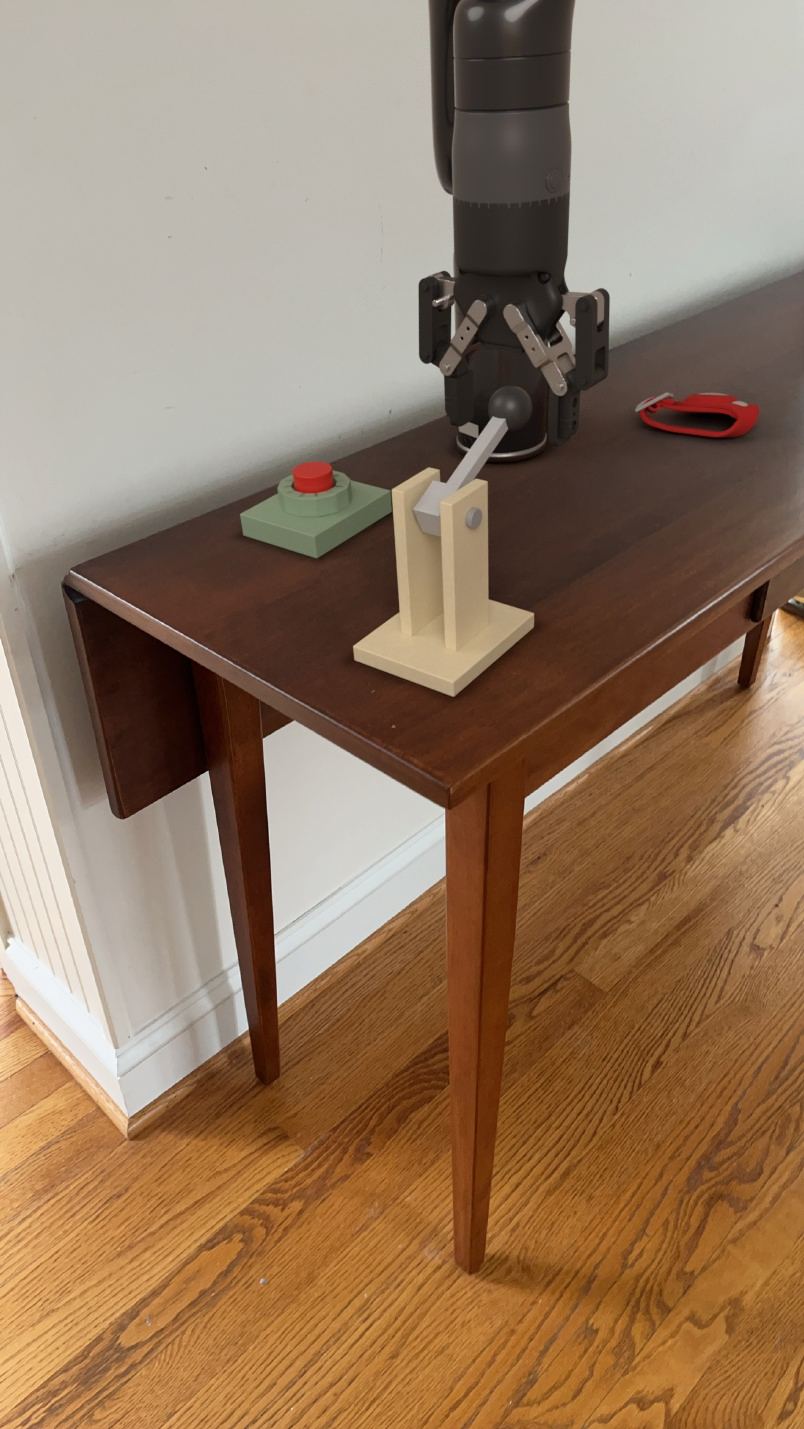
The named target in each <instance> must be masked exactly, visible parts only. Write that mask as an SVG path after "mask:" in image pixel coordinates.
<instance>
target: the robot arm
mask: <svg viewBox="0 0 804 1429" xmlns="http://www.w3.org/2000/svg"><path fill="white" fill-rule="evenodd" d="M576 1H577V0H427V4H428V6H427V7H428V27H429V30H428V31H429V62H430V63H429V64H430V65H429V66H430V101H431V102H430V103H431V104H430V105H431V106H430V107H431V131H432V150H433V151H432V152H433V158H434V165H435V171H436V175H437V176H436V177H437V179H438V182H439V184H440V186H441V188H442V189H443V191H444V192H445V193H446V194H448V195H450V196H452V221H453V222H452V225H453V253H452V256H453V257H452V264H453V265H452V269H453V270H452V272H453V273H452V274H453V276H451V274H450V273H449V272H448V271H447V270H442V271H439V272H435V273H433V274H430V275H427V276H426V277H423V278H421V279H420V280H419V282H418V286H417V287H418V357H419V360H420V361H421V363H423V364H424V365H428V364H432V365H433V366H435V367H437V368H438V369H439V371H440V373H441V374H442V375H443V388H444V389H443V390H444V410H445V413H446V416H447V418H448V417H449V424H450V425H451V426H453V427H456V429H457V432H456V434H457V435H456V449H457V451H458V453H460V454H461V455H462V456H464V457H465V456H466V454H467V453H468V451H469V450H470V448H471V447H472V446H473V444H474V443H475V441H476V440H477V438H478V437H479V436H480V434H481V433H482V431H483V430H484V428H485V427H486V425H487V424H488V423H489V421H490V417H489V414H488V404H489V401H490V399H491V397H492V395H493V394H494V393H495V392H496V391H497V390H498V389H500V388H502V387H505V386H517V387H520V388H522V389H523V390H524V391H526V393H527V394H528V395H529V397H530V399H531V402H532V414H531V417H530V419H529V421H528V422H527V424H526V425H525V426H524V427H522V428H521V429H519V430H516V431H512V432H506V433H505V434H504V436H503V437H502V439H501V440H500V442H499V443H498V445H497V446H496V448H495V449H494V451H493V452H492V453H491V455H490V456H489V458H488V459H487V461H486V462H485V463H511V462H520V461H524V460H527V459H532V458H533V457H535V456H537V455H539V454H541V453H542V452H544V451H545V449H546V447H547V441H548V445H549V446H552V447H553V446H554V447H557V448H559V447H561V446H563V445H565V444H566V443H567V442H569V441H570V440H571V438H572V437H573V436H574V435H576V434H577V431H578V429H579V426H580V424H579V423H580V404H581V391H587V390H589V389H591V388H593V387H594V386H596V385H597V384H600V383H601V382H603V381H604V380H606V378H608V375H609V355H610V310H611V308H610V306H611V297H610V293H609V291H608V290H607V289H605V288H603V287H600V288H597V289H595V290H593V291H591V292H580V291H570V290H569V288H568V286H567V282H566V278H565V272H566V271H565V270H566V266H567V261H568V255H569V254H568V253H569V231H570V230H569V229H570V203H571V202H570V200H571V178H572V177H571V176H572V175H571V173H572V132H571V130H572V129H571V122H570V121H571V118H570V92H571V91H570V88H571V63H572V61H571V58H572V51H571V50H572V38H573V23H574V14H575V6H576ZM452 307H453V308H454V312H453V313H454V335H453V337H452ZM565 313H567V314H568V316H569V325H570V326H572V327H573V328H574V334H575V335H574V338H575V339H574V354H573V351H572V349H573V345H572V341H571V340H570V337H569V336H568V334H567V332H566V330H565V329H564V327H563V325H562V323H561V322H560V320H561V319H562V317H563V315H565ZM550 389H551V390H552V392H553V393H551V394H550Z"/></svg>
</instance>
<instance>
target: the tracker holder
mask: <svg viewBox="0 0 804 1429" xmlns="http://www.w3.org/2000/svg"><path fill="white" fill-rule="evenodd" d="M674 397H675V395H674V393H670V392H664V393H662V394H660V395H658V396H655V397H654V396H652V397H651V396H650V397H648V398H647V399H644V400H642V401H641V402H640V403H638V404H637V405H636V407H635V408H634V412H635V413H636V414H639V416H640V419H641V420H642V422H644V423H645V424H647V425H648V426H650V427H653V428H657V429H659V430H662V431H667V432H670V433H677V434H685V435H693V436H701V437H708V438H718V439H719V438H721V439H723V438H725V439H727V438H728V439H729V438H730V439H731V438H739V437H742V436H744V435H746V434H747V433H748V432H749V431H751V429H752V428H753V427H754V426H755V425H756V423H757V421H758V419H759V416H760V407H759V406H758V405H757V404H755V403H754V404H753V403H747V402H746V401H742V400H740V399H738V398H737V397H735V396H733V395H730V394H726V393H722V392H721V393H720V392H701V393H693V394H689V395H688V396H686V397H685V398H684V399H683V400H675V399H674ZM661 408H665V409H667V410H671V411H675V412H680V413H681V412H682V413H688V412H690V413H711V414H713V413H714V414H723V415H727V416H729V417H731V418H733V419H736V421H735V422H734V423H733V424H732V426H730V428H728V429H726V430H723V431H721V430H719V431H718V430H713V429H712V430H711V429H703V428H695V427H694V428H693V427H688V426H681V425H680V426H679V425H672V424H666V423H662V422H659V421H656V420H654V419H652V418H651V417H650V416H649V415H648V414H649V413H650V414H656V413H657V412H658V411H660V410H661Z"/></svg>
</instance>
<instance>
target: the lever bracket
mask: <svg viewBox="0 0 804 1429" xmlns="http://www.w3.org/2000/svg"><path fill="white" fill-rule="evenodd" d="M433 480H435V481H439V482H441V470H440V469H437V468H433V467H427V468H425V469H423V470H422V471H420V472H418V473H416V474H415V475H413V476H412V477H410V478H409V479H406V480H405V481H403V482H402V483H400V484H399V485H396V486H395V487H393V488H392V489H391V504H392V517H393V530H394V532H393V533H394V544H395V545H394V546H395V547H394V548H395V558H396V559H395V560H396V576H397V592H398V605H399V606H398V607H399V612H397V613H396V614H394V615H393V616H392V617H391V618H389V619H388V620H387V621H385V622H384V623H382V624H381V625H379V626H378V627H376V628H375V629H374V630H373V631H371V632H370V633H369V634H367V635H366V636H365V637H363V638H362V639H361V640H359V641H358V642H357V643H355V644H353V646H352V650H353V660H354V661H355V662H358V663H361V664H363V665H366V666H369V667H372V668H373V669H377V670H380V671H382V672H385V673H388V674H389V675H390V674H391V675H393V676H396V677H398V678H401V679H404V680H407V681H409V682H412V683H415V684H417V685H420V686H423V687H426V688H428V689H431V690H433V691H436V692H439V693H442V694H444V695H447V696H449V697H452V698H454V697H456V696H457V695H458V694H459V693H460V692H461V691H463V690H464V689H465V688H466V687H467V686H468V685H469V684H471V683H472V682H473V681H474V680H475V679H476V678H478V677H479V676H480V675H481V674H482V673H483V672H485V671H486V670H487V669H488V668H489V667H490V666H491V665H492V664H493V663H495V662H496V661H497V660H498V659H499V658H501V657H502V656H503V655H504V654H506V652H507V651H509V650H510V649H511V648H512V647H513V646H514V645H515V644H517V643H518V642H519V641H520V640H521V639H522V638H524V637H525V636H526V635H527V634H528V633H530V631H532V630H533V629H534V627H535V613H534V612H532V611H529V610H525V609H522V608H518V607H516V606H512V605H509V604H505V603H502V602H499V601H496V600H492V599H489V483H488V481H487V480H485V479H479V478H474V480H473V481H471V482H470V483H468V484H467V485H465V486H464V487H462V488H461V489H459V490H458V491H456V492H454V493H453V494H451V495H450V496H448V497H447V498H445V499H444V500H442V501H441V502H440V520H441V537H439V536H436V535H432V534H428V533H425V532H423V531H422V529H421V527H420V524H419V522H418V520H417V518H416V515H415V513H414V511H413V508H414V507H415V505H416V504H417V503H418V501H419V500H420V498H421V497H422V495H423V494H424V493H425V491H426V490H427V488H428V487H429V485H430V484H431V483H432V481H433Z"/></svg>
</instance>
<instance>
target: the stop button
mask: <svg viewBox="0 0 804 1429" xmlns="http://www.w3.org/2000/svg"><path fill="white" fill-rule="evenodd" d="M333 471H334V470H333V467H332V465H331V464H329V463H327V462H324V461H309V462H304V463H301V464H299V465H296V466H295V467H293V469H292V474H293V480H294V487H295V491H297V492H301V493H320V492H324V491H328V490H330V489H331V488H333V487H334V480H333Z"/></svg>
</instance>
